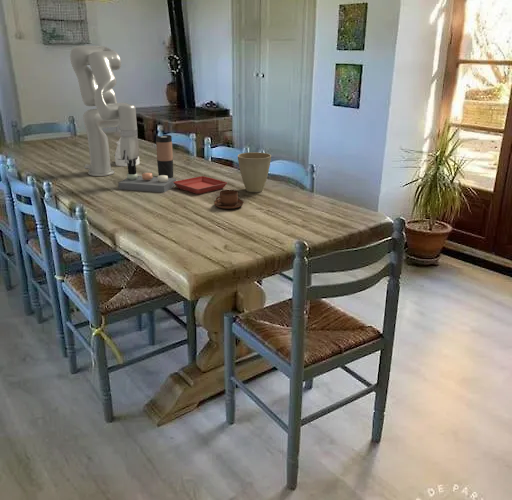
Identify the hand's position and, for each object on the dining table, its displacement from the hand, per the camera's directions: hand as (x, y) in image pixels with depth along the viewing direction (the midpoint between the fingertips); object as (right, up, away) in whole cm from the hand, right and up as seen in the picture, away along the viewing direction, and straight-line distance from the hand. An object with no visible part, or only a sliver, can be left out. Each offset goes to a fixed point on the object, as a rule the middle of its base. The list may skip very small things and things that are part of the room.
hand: (132, 173), depth 238 cm
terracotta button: (+7, -3, 0) cm, 8 cm away
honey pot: (-14, +12, +46) cm, 50 cm away
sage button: (0, -3, +1) cm, 3 cm away
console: (+7, -6, +1) cm, 9 cm away
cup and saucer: (+46, -17, -26) cm, 55 cm away
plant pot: (+56, -8, -3) cm, 57 cm away
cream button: (+14, -4, -2) cm, 15 cm away
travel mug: (+12, +1, +19) cm, 22 cm away
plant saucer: (+31, -7, 0) cm, 32 cm away
